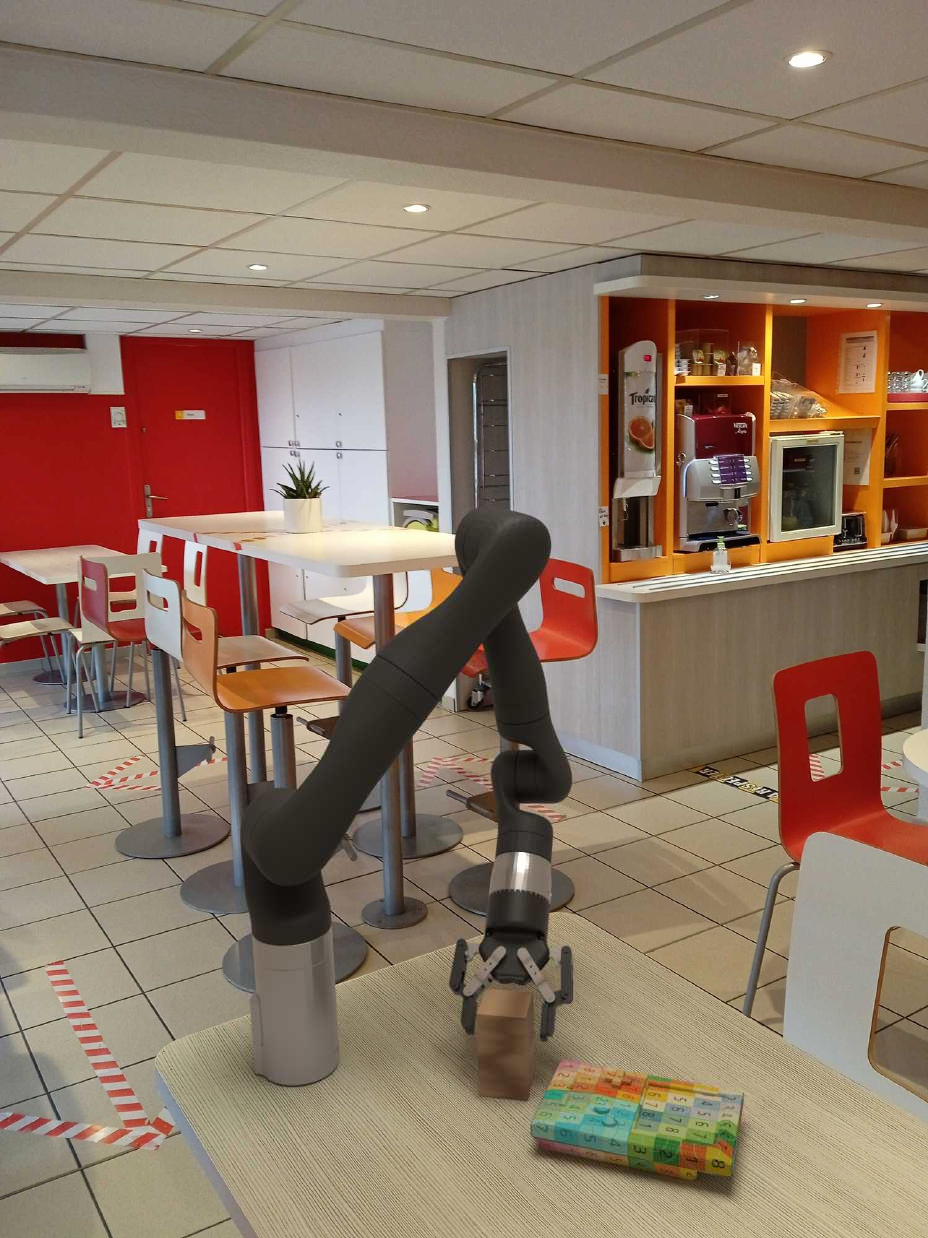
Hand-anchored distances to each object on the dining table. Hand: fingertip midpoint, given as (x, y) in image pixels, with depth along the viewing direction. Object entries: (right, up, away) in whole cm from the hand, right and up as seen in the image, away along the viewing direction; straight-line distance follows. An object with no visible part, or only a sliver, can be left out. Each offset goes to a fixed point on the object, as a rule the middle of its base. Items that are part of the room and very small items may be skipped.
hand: (506, 1037), depth 116 cm
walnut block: (0, -6, +1) cm, 6 cm away
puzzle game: (+14, -7, -9) cm, 18 cm away
